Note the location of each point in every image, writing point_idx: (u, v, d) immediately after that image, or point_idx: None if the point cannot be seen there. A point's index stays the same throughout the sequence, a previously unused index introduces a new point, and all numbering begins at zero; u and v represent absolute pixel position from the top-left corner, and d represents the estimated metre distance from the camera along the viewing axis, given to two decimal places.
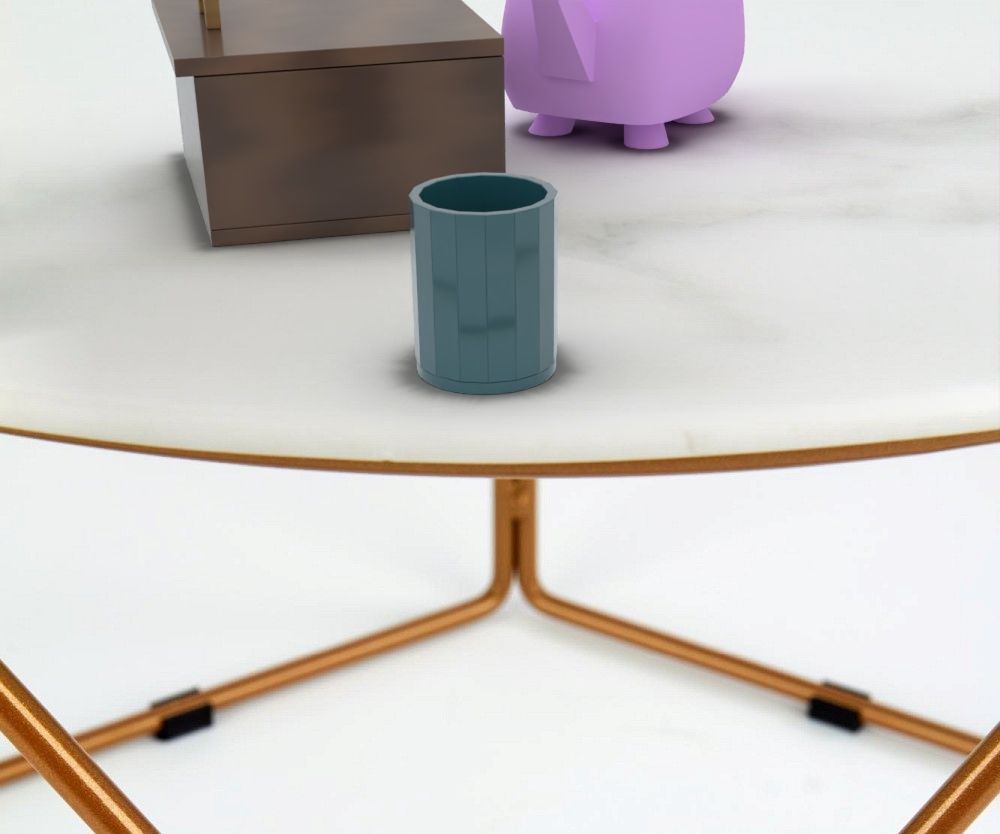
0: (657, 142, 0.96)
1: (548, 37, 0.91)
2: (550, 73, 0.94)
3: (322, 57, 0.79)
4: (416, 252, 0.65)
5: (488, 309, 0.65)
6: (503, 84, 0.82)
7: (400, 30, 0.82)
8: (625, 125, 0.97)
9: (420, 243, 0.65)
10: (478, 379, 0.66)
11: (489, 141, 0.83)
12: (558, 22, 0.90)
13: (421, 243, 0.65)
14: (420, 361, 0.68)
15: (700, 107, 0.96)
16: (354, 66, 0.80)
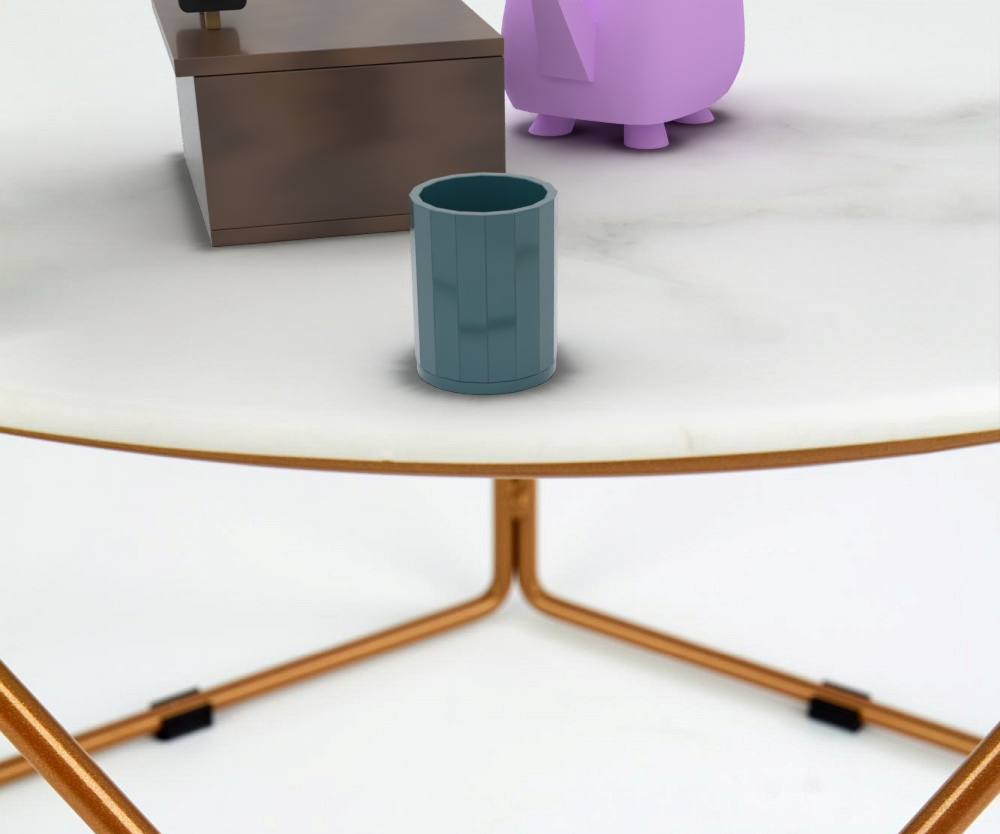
0: (657, 142, 0.96)
1: (548, 37, 0.91)
2: (550, 73, 0.94)
3: (322, 57, 0.79)
4: (416, 252, 0.65)
5: (488, 309, 0.65)
6: (503, 84, 0.82)
7: (400, 30, 0.82)
8: (625, 125, 0.97)
9: (420, 243, 0.65)
10: (478, 379, 0.66)
11: (489, 141, 0.83)
12: (558, 22, 0.90)
13: (421, 243, 0.65)
14: (420, 361, 0.68)
15: (700, 107, 0.96)
16: (354, 66, 0.80)
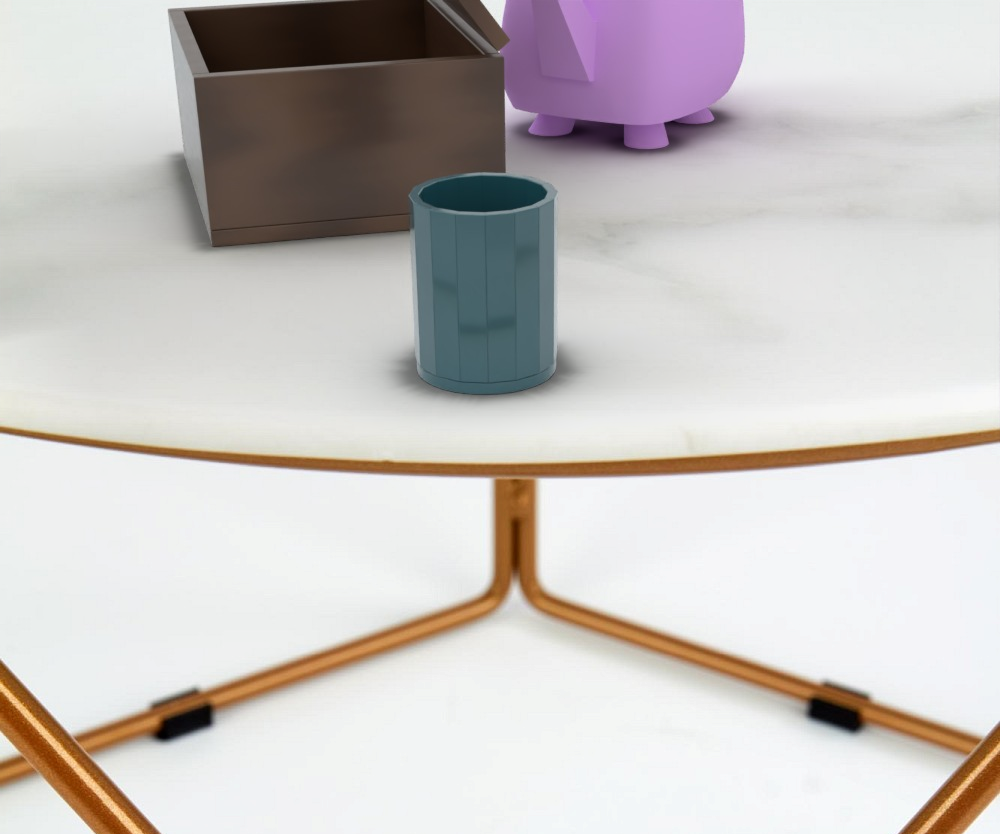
0: (657, 142, 0.96)
1: (548, 37, 0.91)
2: (550, 73, 0.94)
3: None
4: (416, 252, 0.65)
5: (488, 309, 0.65)
6: (503, 84, 0.82)
7: None
8: (625, 125, 0.97)
9: (420, 243, 0.65)
10: (478, 379, 0.66)
11: (489, 141, 0.83)
12: (558, 22, 0.90)
13: (421, 243, 0.65)
14: (420, 361, 0.68)
15: (700, 107, 0.96)
16: (354, 66, 0.80)
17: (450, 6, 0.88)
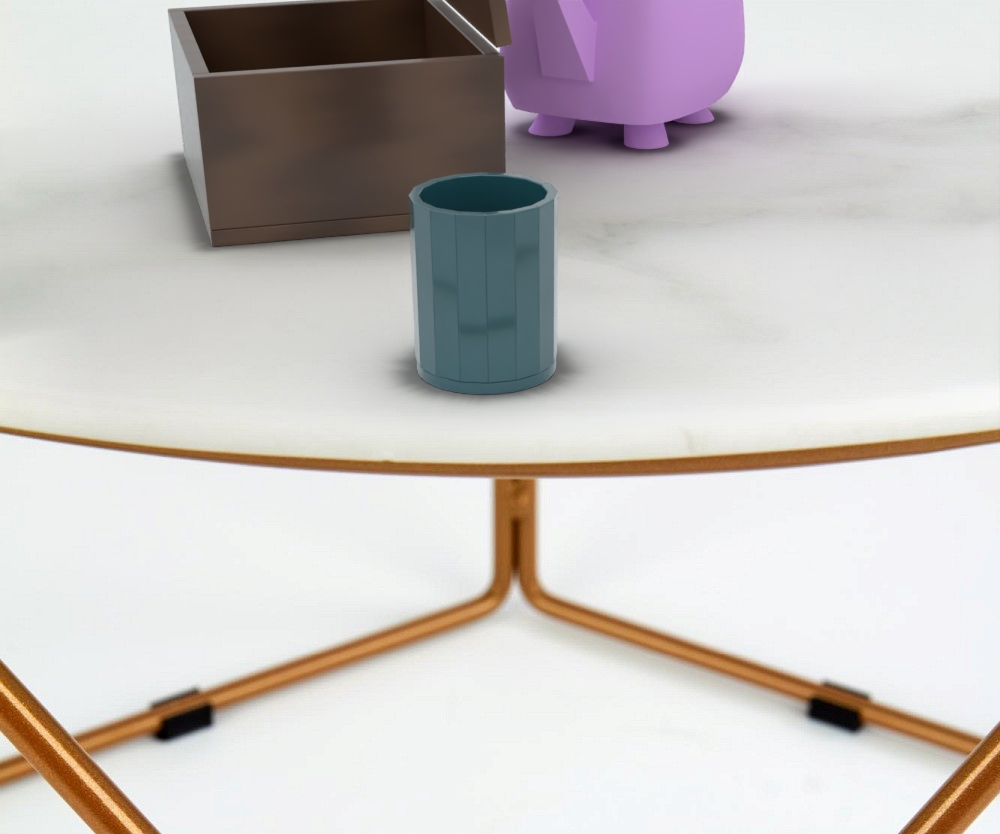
0: (657, 142, 0.96)
1: (548, 37, 0.91)
2: (550, 73, 0.94)
3: None
4: (416, 252, 0.65)
5: (488, 309, 0.65)
6: (503, 84, 0.82)
7: None
8: (625, 125, 0.97)
9: (420, 243, 0.65)
10: (478, 379, 0.66)
11: (489, 141, 0.83)
12: (558, 22, 0.90)
13: (421, 243, 0.65)
14: (420, 361, 0.68)
15: (700, 107, 0.96)
16: (354, 66, 0.80)
17: (452, 0, 0.88)
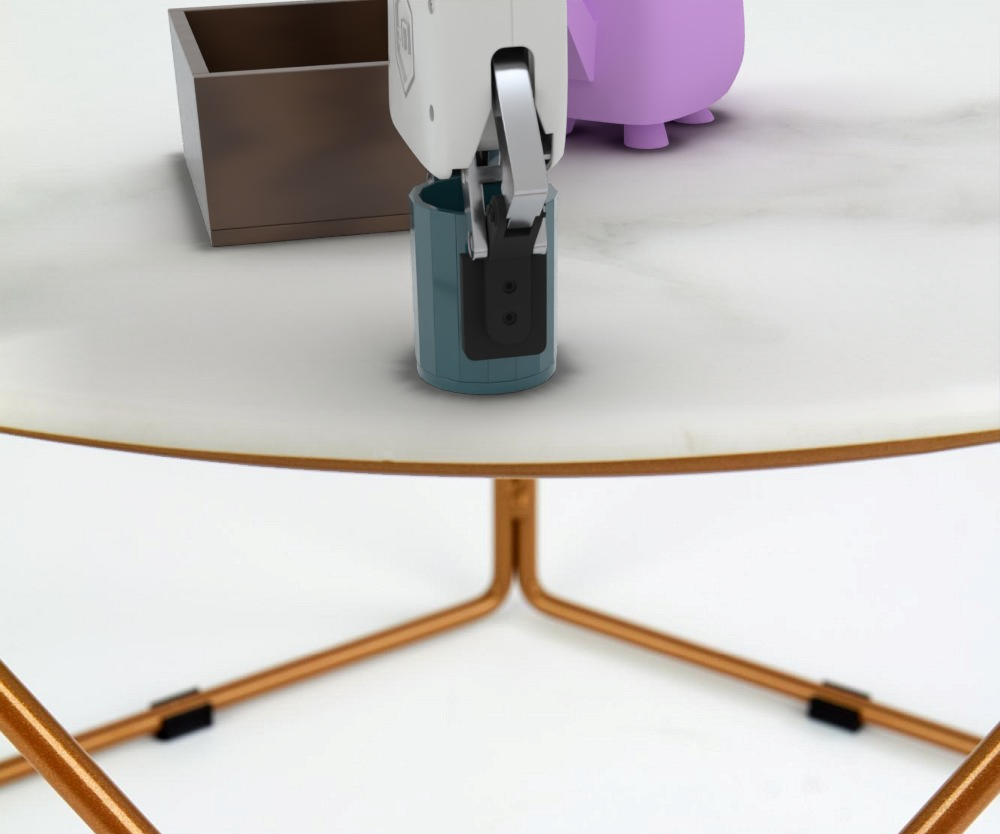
0: (657, 142, 0.96)
1: None
2: None
3: None
4: (416, 252, 0.65)
5: None
6: None
7: None
8: (625, 125, 0.97)
9: (420, 243, 0.65)
10: (478, 379, 0.66)
11: None
12: None
13: (421, 243, 0.65)
14: (420, 361, 0.68)
15: (700, 107, 0.96)
16: (354, 66, 0.80)
17: None
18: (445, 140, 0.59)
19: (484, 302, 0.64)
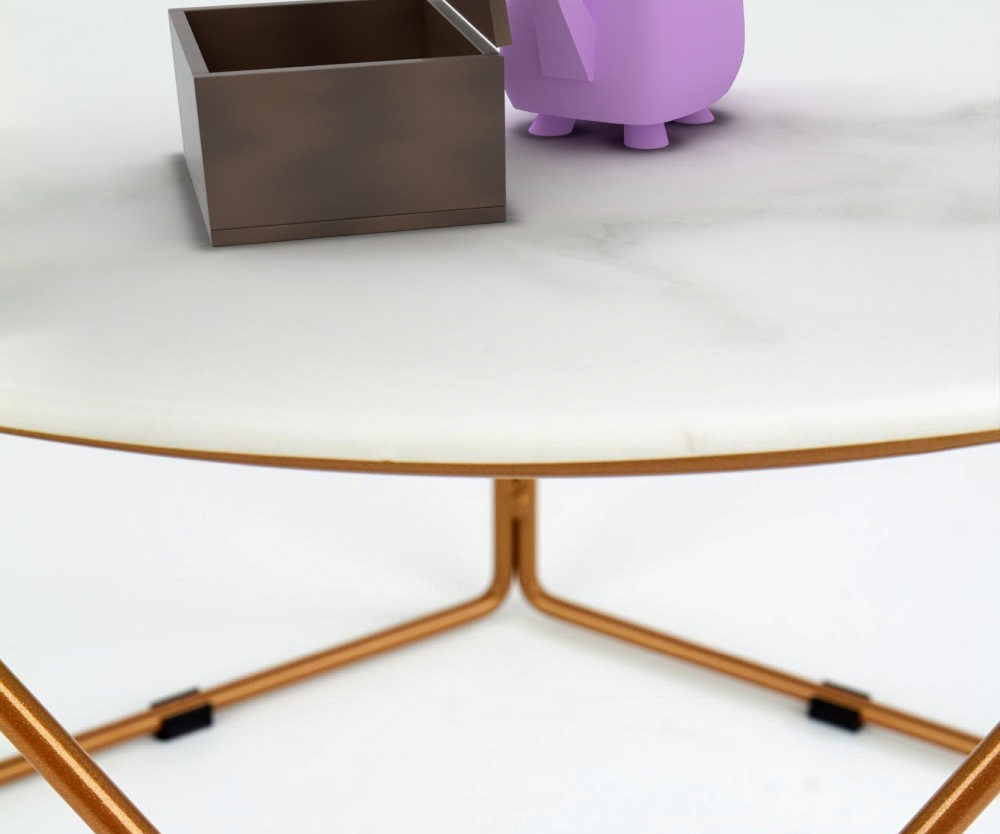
0: (657, 142, 0.96)
1: (548, 37, 0.91)
2: (550, 73, 0.94)
3: None
4: None
5: None
6: (503, 84, 0.82)
7: None
8: (625, 125, 0.97)
9: None
10: None
11: (489, 141, 0.83)
12: (558, 22, 0.90)
13: None
14: None
15: (700, 107, 0.96)
16: (354, 66, 0.80)
17: (452, 0, 0.88)
18: None
19: None
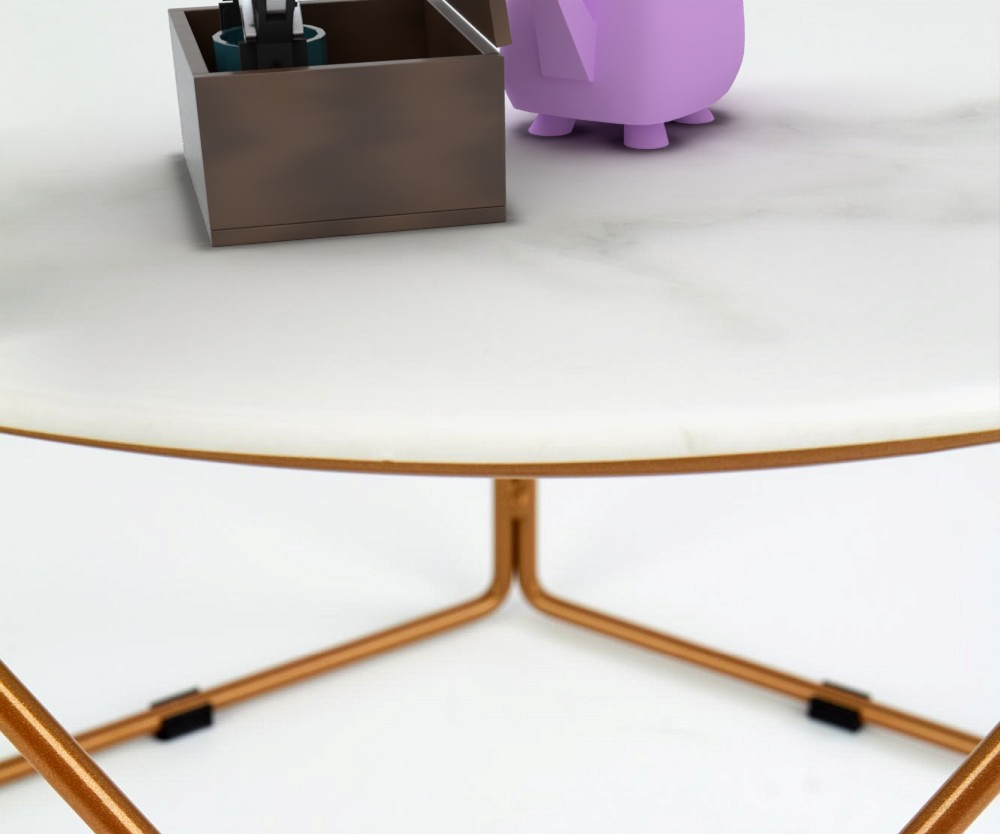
0: (657, 142, 0.96)
1: (548, 37, 0.91)
2: (550, 73, 0.94)
3: None
4: None
5: None
6: (503, 84, 0.82)
7: None
8: (625, 125, 0.97)
9: (220, 71, 0.85)
10: None
11: (489, 141, 0.83)
12: (558, 22, 0.90)
13: None
14: None
15: (700, 107, 0.96)
16: (354, 66, 0.80)
17: (452, 0, 0.88)
18: None
19: None
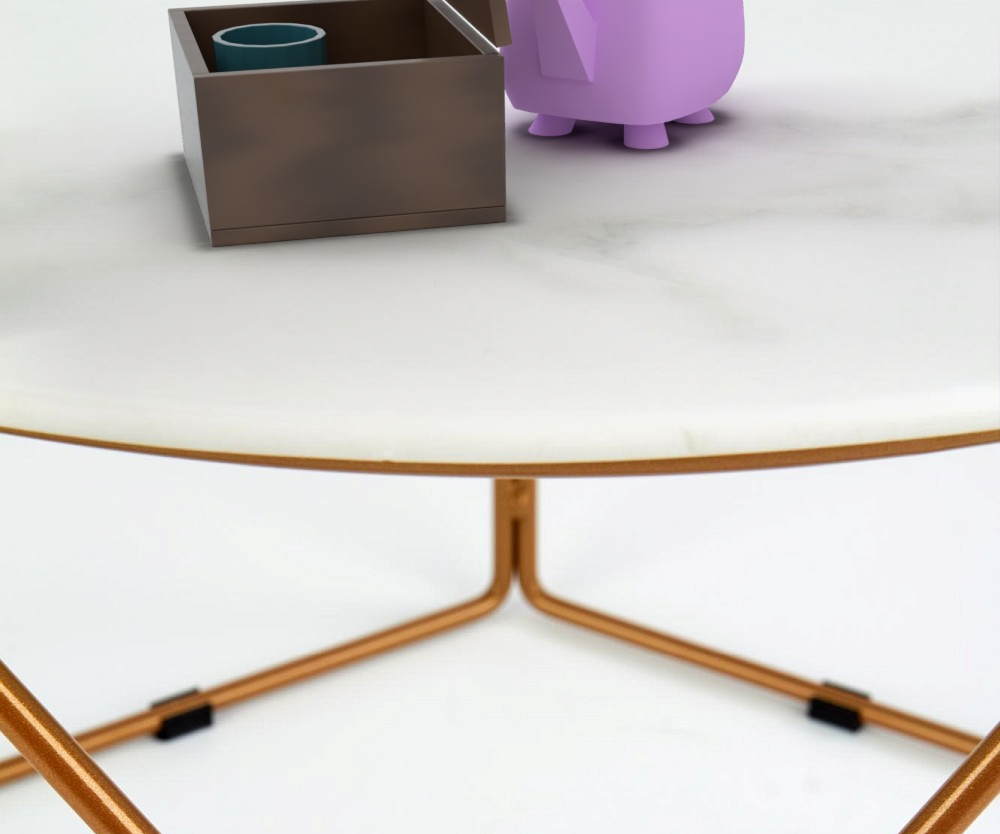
0: (657, 142, 0.96)
1: (548, 37, 0.91)
2: (550, 73, 0.94)
3: None
4: None
5: None
6: (503, 84, 0.82)
7: None
8: (625, 125, 0.97)
9: (220, 71, 0.85)
10: None
11: (489, 141, 0.83)
12: (558, 22, 0.90)
13: None
14: None
15: (700, 107, 0.96)
16: (354, 66, 0.80)
17: (452, 0, 0.88)
18: None
19: None
